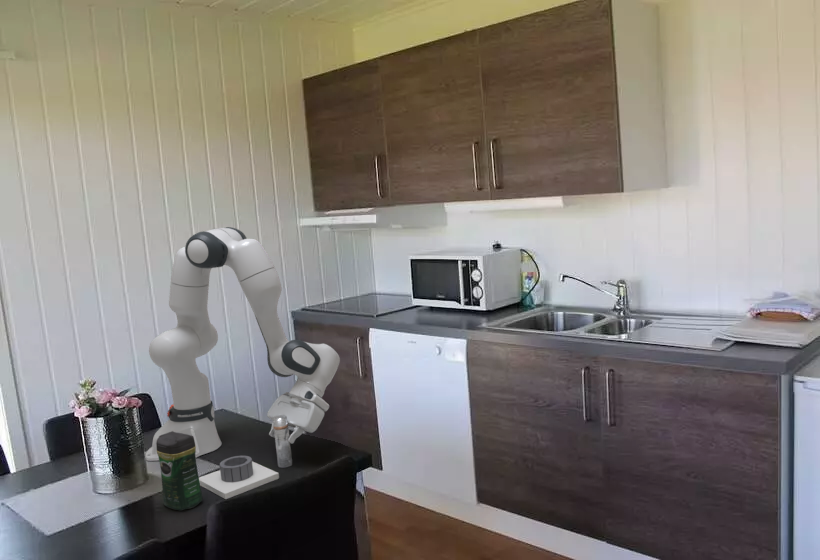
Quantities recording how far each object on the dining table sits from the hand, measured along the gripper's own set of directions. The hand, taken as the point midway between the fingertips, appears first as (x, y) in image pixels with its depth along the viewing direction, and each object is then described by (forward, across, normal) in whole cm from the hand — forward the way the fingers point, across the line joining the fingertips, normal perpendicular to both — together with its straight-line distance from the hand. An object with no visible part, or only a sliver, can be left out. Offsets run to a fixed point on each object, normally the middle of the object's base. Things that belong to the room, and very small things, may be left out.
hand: (280, 439), depth 197 cm
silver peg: (+5, 0, +6) cm, 8 cm away
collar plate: (+15, -2, -4) cm, 16 cm away
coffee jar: (+27, -1, -16) cm, 31 cm away
